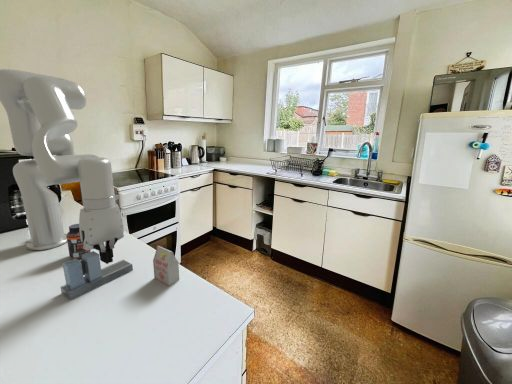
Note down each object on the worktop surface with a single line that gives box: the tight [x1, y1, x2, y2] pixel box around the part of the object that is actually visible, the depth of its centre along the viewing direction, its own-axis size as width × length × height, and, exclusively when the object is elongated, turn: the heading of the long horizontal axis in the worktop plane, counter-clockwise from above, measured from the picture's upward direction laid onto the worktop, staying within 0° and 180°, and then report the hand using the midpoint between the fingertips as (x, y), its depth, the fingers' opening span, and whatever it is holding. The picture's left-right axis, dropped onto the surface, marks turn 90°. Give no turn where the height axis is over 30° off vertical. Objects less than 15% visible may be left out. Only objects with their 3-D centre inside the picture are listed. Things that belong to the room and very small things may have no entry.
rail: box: [60, 258, 134, 301], centre depth 69 cm, size 5×17×9 cm, turn 149°
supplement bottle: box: [66, 223, 92, 260], centre depth 81 cm, size 6×6×11 cm
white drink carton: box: [152, 245, 180, 287], centre depth 71 cm, size 4×7×10 cm, turn 58°
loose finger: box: [80, 250, 102, 281], centre depth 67 cm, size 3×4×7 cm
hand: (107, 261), depth 71 cm, fingers closed
